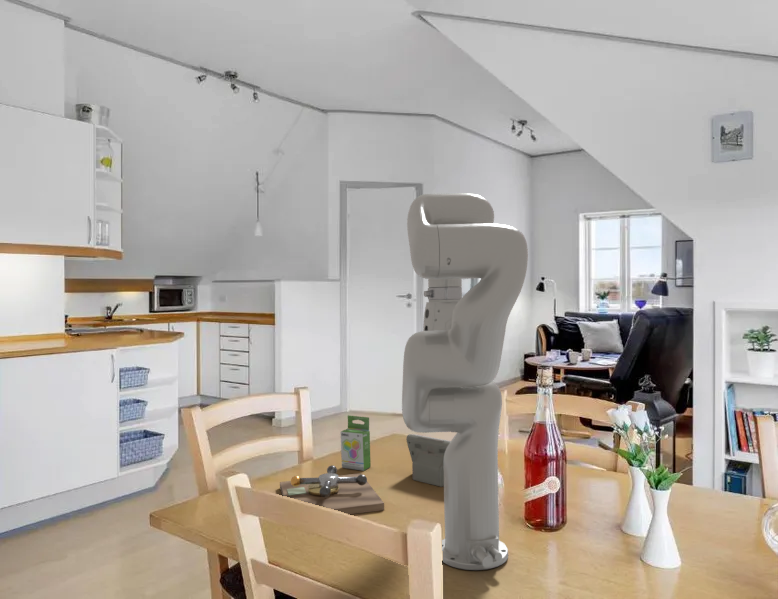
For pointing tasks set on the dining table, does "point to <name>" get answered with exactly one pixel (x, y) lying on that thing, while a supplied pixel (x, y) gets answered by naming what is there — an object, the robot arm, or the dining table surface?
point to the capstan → (327, 482)
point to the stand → (339, 497)
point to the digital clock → (427, 458)
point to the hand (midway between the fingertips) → (446, 376)
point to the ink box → (356, 444)
